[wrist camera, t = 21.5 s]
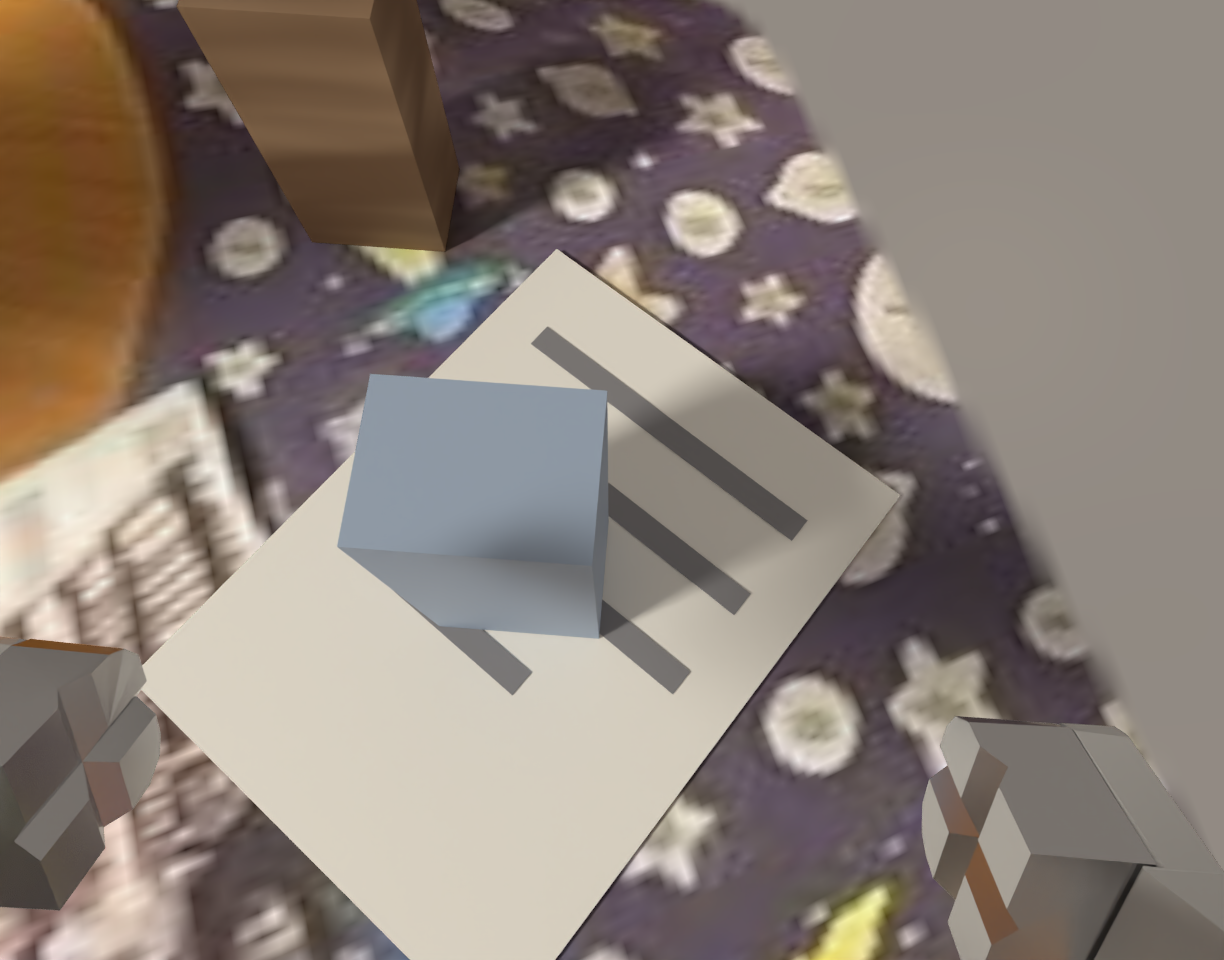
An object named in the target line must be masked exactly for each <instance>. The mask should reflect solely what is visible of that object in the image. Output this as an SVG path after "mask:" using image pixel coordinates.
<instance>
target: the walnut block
mask: <svg viewBox="0 0 1224 960" xmlns="http://www.w3.org/2000/svg"><path fill="white" fill-rule="evenodd" d="M177 8H178V10H179V12H180V13H181V15H182V17H183V18H184V20H185V22H186V24H187V25H188V27H189V29H190V31H191V32H192V34H193V36H194V38H195V39H196V41H197V43H198V45H199V46H200V48H201V50H202V52H203V53H204V55H205V57H206V58H207V60H208V62H209V64H210V65H211V67H212V69H213V71H214V72H215V74H216V76H217V78H218V79H219V81H220V83H221V85H222V86H223V88H224V90H225V92H226V93H227V95H228V97H229V98H230V100H231V102H232V104H233V105H234V107H235V109H236V111H237V112H238V114H239V116H240V118H241V119H242V121H243V123H244V125H245V126H246V128H247V130H248V131H249V133H250V135H251V137H252V138H253V140H254V142H255V144H256V145H257V147H258V149H259V151H260V152H261V154H262V156H263V158H264V159H265V161H266V163H267V165H268V166H269V168H270V170H271V171H272V173H273V175H274V177H275V178H276V180H277V182H278V184H279V185H280V187H281V189H282V191H283V192H284V194H285V196H286V198H287V199H288V201H289V203H290V205H291V206H292V208H293V210H294V211H295V213H296V215H297V217H298V218H299V220H300V222H301V224H302V225H303V227H304V229H305V231H306V232H307V234H308V236H309V238H310V239H311V241H312V242H316V243H330V244H344V245H358V246H373V247H387V248H401V249H415V250H429V251H443V252H445V249H446V244H447V238H448V232H449V226H450V221H451V215H452V209H453V203H454V198H455V192H456V186H457V180H458V175H459V166H458V162H457V158H456V154H455V150H454V146H453V142H452V138H451V134H450V130H449V126H448V122H447V118H446V115H445V111H444V107H443V103H442V99H441V95H440V91H439V87H438V83H437V79H436V75H435V71H434V67H433V64H432V60H431V56H430V52H429V48H428V44H427V40H426V36H425V32H424V28H423V24H422V20H421V16H420V12H419V9H418V5H417V1H416V0H179V1H178V4H177Z"/></svg>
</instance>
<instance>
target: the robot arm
mask: <svg viewBox="0 0 1224 960" xmlns="http://www.w3.org/2000/svg"><path fill="white" fill-rule="evenodd" d="M146 681H147V680H146V677H145V674H144V670H143V667H142V664H141V661H140V658H139V655H137V654H135V653H133V652H130V651H128V650H126V649H121V648H111V647H102V646H92V645H83V644H73V643H64V642H54V641H45V640H36V639H29V640H24V639H16V638H6V637H0V907H11V908H27V909H44V910H60V909H61V908H62V907H63V905H64V904H65V903H66V901H67V900H68V898H69V897H70V896H71V894H72V893H73V892H74V890H75V889H76V887H77V886H78V885H79V883H80V882H81V880H82V879H83V878H84V876H85V875H86V874H87V872H88V871H89V869H90V868H91V867H92V865H93V864H94V863H95V861H96V860H97V858H98V857H99V856H100V854H101V853H102V851H103V850H104V849H105V840H104V826H106V825H108V824H109V823H111V822H113V821H114V820H116V819H118V818H119V817H121V816H122V815H124V814H126V813H127V812H129V811H131V810H132V809H133V808H134V807H135V805H136V804H137V802H138V801H139V799H140V798H141V797H142V795H143V794H144V792H145V791H146V789H147V788H148V786H149V785H150V782H151V779H152V776H153V774H154V771H155V768H156V765H157V762H158V759H159V756H160V729H159V725H158V721H157V717H156V714H155V713H154V712H153V711H152V710H150V709H149V708H148V707H147V706H146V705H145V704H144V703H143V702H142V701H141V700H140V699H139V698H138V697H137V695H138V693H139V692H140V690H141V689H142V687H143V686H144V684H145V683H146ZM940 747H941V750H942V752H943V755H944V757H945V760H946V762H947V765H948V766H946V767H945V768H944V769H942V770H941V771H939V772H938V773H937V774H935V775H934V776H933V777H931V778H930V779H929V782H928V785H927V789H926V793H925V796H924V800H923V804H922V835H923V841H924V847H925V853H926V857H927V860H928V863H929V866H930V869H931V873H932V876H933V878H934V879H935V880H936V881H937V882H938V883H939V884H940V885H941V886H942V887H943V888H944V889H945V890H946V891H947V892H948V893H949V894H950V895H951V896H952V897H953V898H954V899H955V903H954V906H953V909H952V911H951V914H950V917H949V920H948V924H949V927H950V930H951V933H952V936H953V938H954V941H955V944H956V947H957V950H958V953H959V956H960V959H961V960H1224V871H1223V870H1222V868H1221V867H1220V865H1219V864H1218V862H1217V861H1216V860H1215V858H1214V857H1213V855H1212V854H1211V852H1210V851H1209V850H1208V848H1207V847H1206V845H1205V844H1204V843H1203V841H1202V840H1201V838H1200V837H1199V836H1198V834H1197V833H1196V831H1195V830H1194V828H1193V827H1192V826H1191V824H1190V823H1189V821H1188V820H1187V819H1186V817H1185V816H1184V814H1183V813H1182V811H1181V810H1180V809H1179V807H1178V806H1177V804H1176V803H1175V802H1174V800H1173V799H1172V797H1171V796H1170V794H1169V793H1168V792H1167V790H1166V789H1165V787H1164V786H1163V785H1162V783H1161V782H1160V780H1159V779H1158V777H1157V776H1156V775H1155V773H1154V772H1153V770H1152V769H1151V768H1150V766H1149V765H1148V763H1147V762H1146V760H1145V759H1144V758H1143V756H1142V755H1141V753H1140V752H1139V751H1138V749H1137V748H1136V746H1135V745H1134V743H1133V742H1132V741H1131V739H1130V738H1129V737H1128V736H1127V735H1126V734H1125V733H1123V732H1122V731H1120V730H1119V729H1117V728H1116V727H1114V726H1099V725H1083V724H1067V723H1060V724H1053V723H1041V722H1027V721H1014V720H1000V719H987V718H973V717H960V716H955V717H954V718H953V720H952V721H951V722H950V723H949V724H948V725H947V727H946V730H945V733H944V736H943V738H942V741H941V744H940Z"/></svg>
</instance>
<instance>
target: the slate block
mask: <svg viewBox="0 0 1224 960" xmlns="http://www.w3.org/2000/svg"><path fill="white" fill-rule="evenodd" d="M608 523H609V520H608V408H607V391H605V390H590V389H576V388H562V387H548V386H534V385H520V384H506V383H492V382H477V381H463V380H449V379H435V378H421V377H407V376H393V375H379V374H370V378H369V384H368V389H367V394H366V399H365V404H364V409H363V415H362V420H361V425H360V430H359V435H358V441H357V446H356V451H355V456H354V461H353V466H352V472H351V477H350V482H349V487H348V492H347V497H346V503H345V508H344V513H343V518H342V523H341V528H340V534H339V539H338V544H337V547H338V548H339V549H341V550H342V551H343V552H344V553H346V554H347V555H348V556H350V557H351V558H352V559H353V560H355V561H356V562H357V563H359V564H360V565H361V566H362V567H364V568H365V569H366V570H368V571H369V572H370V573H371V574H373V575H374V576H375V577H377V578H378V579H379V580H380V581H382V582H383V583H384V584H386V585H387V586H388V587H389V588H391V589H392V590H393V591H395V592H396V593H397V594H399V595H400V596H401V597H402V598H404V599H405V600H406V601H408V602H409V603H410V604H411V605H413V606H414V607H415V608H417V609H418V610H419V611H420V612H422V613H423V614H424V615H426V616H427V617H428V618H429V619H431V620H432V621H433V622H435V623H436V624H437V625H438V626H443V627H455V628H468V629H481V630H494V631H507V632H519V633H532V634H545V635H558V636H571V637H583V638H596V639H599V634H600V621H601V609H602V597H603V585H604V572H605V560H606V548H607V535H608Z"/></svg>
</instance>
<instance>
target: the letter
mask: <svg viewBox="0 0 1224 960" xmlns="http://www.w3.org/2000/svg"><path fill="white" fill-rule="evenodd" d="M429 378H435V379H449V380H463V381H477V382H492V383H506V384H520V385H534V386H548V387H562V388H576V389H590V390H605V391H607V408H608V520H609V523H608V535H607V548H606V560H605V572H604V585H603V597H602V609H601V621H600V634H599V639H596V638H583V637H571V636H558V635H545V634H532V633H519V632H507V631H494V630H481V629H468V628H455V627H443V626H438V625H437V624H436V623H435V622H433V621H432V620H431V619H429V618H428V617H427V616H426V615H424V614H423V613H422V612H420V611H419V610H418V609H417V608H415V607H414V606H413V605H411V604H410V603H409V602H408V601H406V600H405V599H404V598H402V597H401V596H400V595H399V594H397V593H396V592H395V591H393V590H392V589H391V588H389V587H388V586H387V585H386V584H384V583H383V582H382V581H380V580H379V579H378V578H377V577H375V576H374V575H373V574H371V573H370V572H369V571H368V570H366V569H365V568H364V567H362V566H361V565H360V564H359V563H357V562H356V561H355V560H353V559H352V558H351V557H350V556H348V555H347V554H346V553H344V552H343V551H342V550H341V549H339V548H338V547H337V544H338V539H339V534H340V528H341V523H342V518H343V513H344V508H345V503H346V497H347V492H348V487H349V482H350V477H351V472H352V466H353V461H354V456H355V452H354V453H353V454H352V455H351V456H350V457H349V458H348V459H347V460H346V461H345V462H344V463H343V464H342V465H341V466H340V467H339V468H338V469H337V470H336V471H335V472H334V473H333V474H332V475H331V476H330V477H329V478H328V479H327V480H326V481H325V482H324V483H323V484H322V485H321V486H320V487H319V488H318V489H317V490H316V491H315V493H314V494H313V495H312V496H311V497H310V498H309V499H308V500H307V501H306V502H305V503H304V504H303V505H302V506H301V507H300V508H299V509H298V510H297V511H296V512H295V513H294V514H293V515H292V516H291V517H290V518H289V519H288V520H287V521H286V522H285V523H284V524H283V525H282V526H281V527H280V528H279V529H278V530H277V531H276V532H275V533H274V534H273V535H272V536H271V537H270V538H269V539H268V540H267V541H266V542H265V543H264V544H263V545H262V546H261V547H260V548H259V549H258V550H257V551H256V552H255V553H254V554H253V555H252V556H251V557H250V558H249V559H248V560H247V561H246V562H245V563H244V564H243V565H242V566H241V567H240V568H239V569H238V570H237V571H236V572H235V573H234V574H233V575H232V576H231V577H230V578H229V579H228V580H227V581H226V582H225V583H224V584H223V585H222V586H221V587H220V588H219V589H218V590H217V591H216V592H215V593H214V594H213V595H212V596H211V597H210V598H209V599H208V600H207V601H206V602H205V603H204V604H203V605H202V606H201V607H200V608H199V609H198V610H197V611H196V612H195V613H194V614H193V615H192V616H191V617H190V618H189V619H188V620H187V621H186V622H185V623H184V624H183V625H182V626H181V627H180V628H179V629H178V630H177V631H176V632H175V633H174V634H173V635H172V636H171V637H170V638H169V639H168V640H167V641H166V642H165V643H164V644H163V645H162V646H161V647H160V648H159V649H158V650H157V651H156V652H155V653H154V654H153V655H152V656H151V657H150V658H149V659H148V660H147V661H146V662H145V664H144V665H143V666H142V667H143V670H144V674H145V677H146V680H147V681H146V683H145V684H144V686H143V687H142V689H141V690H142V691H143V692H144V693H145V694H146V695H147V696H148V697H149V698H150V699H151V700H152V701H153V702H154V703H155V704H156V705H157V706H158V707H159V708H160V709H161V710H162V711H163V712H164V713H165V714H166V715H167V716H168V717H169V718H170V719H171V720H172V721H173V722H174V723H175V724H176V725H177V726H178V727H179V728H180V729H181V730H182V731H183V732H184V733H185V734H186V735H187V736H188V737H189V738H190V739H191V740H192V741H193V742H194V743H195V744H196V745H197V746H198V747H199V748H200V749H201V750H202V751H203V752H204V753H205V754H206V755H207V756H208V757H209V758H210V759H211V760H212V761H213V762H214V763H215V764H216V765H217V766H218V767H219V768H220V769H221V770H222V771H223V772H224V773H225V774H226V775H227V776H228V777H229V778H230V779H231V780H232V781H233V782H234V783H235V784H236V785H237V786H238V787H239V788H240V789H241V790H242V791H243V792H244V793H245V794H246V795H247V796H248V797H249V798H250V799H251V800H252V801H253V802H254V803H255V804H256V805H257V806H258V807H259V808H260V809H261V810H262V811H263V812H264V813H265V814H266V815H267V816H268V817H269V818H270V819H271V820H272V821H273V822H274V823H275V824H276V825H277V826H278V827H279V828H280V829H281V830H282V831H283V832H284V833H285V834H286V835H287V836H288V837H289V838H290V839H291V840H292V841H293V842H294V843H295V844H296V845H297V846H298V847H299V848H300V849H301V850H302V851H303V853H304V854H305V855H306V856H307V857H308V858H309V859H310V860H311V861H312V862H313V863H314V864H315V865H316V866H317V867H318V868H319V869H320V870H321V871H322V872H323V873H324V874H325V875H326V876H327V877H328V878H329V879H330V880H331V881H332V882H333V883H334V884H335V885H336V886H337V887H338V888H339V889H340V890H341V891H342V892H343V893H344V894H345V895H346V896H347V897H348V898H349V899H350V900H351V901H352V902H353V903H354V904H355V905H356V906H357V907H358V908H359V909H360V910H361V911H362V912H363V913H364V914H365V915H366V916H367V917H368V918H369V919H370V920H371V921H372V922H373V923H374V924H375V925H376V926H377V927H378V928H379V929H380V930H381V931H382V932H383V933H384V934H385V935H386V936H387V937H388V938H389V939H390V940H391V941H392V942H393V943H394V944H395V945H396V946H397V947H398V948H399V949H400V950H401V951H402V952H403V953H404V954H405V955H406V956H407V957H408V958H409V959H410V960H555V959H556V958H557V957H558V955H559V954H560V953H561V951H562V950H563V949H564V947H565V946H566V945H567V943H568V942H569V941H570V939H571V938H572V937H573V935H574V934H575V933H576V931H577V930H578V929H579V927H580V926H581V924H582V923H583V922H584V920H585V919H586V918H587V916H588V915H589V914H590V912H591V911H592V910H593V908H594V907H595V906H596V904H597V903H598V902H599V900H600V899H601V898H602V896H603V895H604V894H605V892H606V891H607V890H608V888H609V887H610V885H611V884H612V883H613V881H614V880H615V879H616V877H617V876H618V875H619V873H620V872H621V871H622V869H623V868H624V867H625V865H626V864H627V863H628V861H629V860H630V859H631V857H632V856H633V855H634V853H635V852H636V851H637V849H638V848H639V846H640V845H641V844H642V842H643V841H644V840H645V838H646V837H647V836H648V834H649V833H650V832H651V830H652V829H653V828H654V826H655V825H656V824H657V822H658V821H659V820H660V818H661V817H662V816H663V814H664V813H665V812H666V810H667V809H668V807H669V806H670V805H671V803H672V802H673V801H674V799H675V798H676V797H677V795H678V794H679V793H680V791H681V790H682V789H683V787H684V786H685V785H686V783H687V782H688V781H689V779H690V778H691V777H692V775H693V774H694V773H695V771H696V770H697V768H698V767H699V766H700V764H701V763H702V762H703V760H704V759H705V758H706V756H707V755H708V754H709V752H710V751H711V750H712V748H713V747H714V746H715V744H716V743H717V742H718V740H719V739H720V738H721V736H722V735H723V734H724V732H725V731H726V729H727V728H728V727H729V725H730V724H731V723H732V721H733V720H734V719H735V717H736V716H737V715H738V713H739V712H740V711H741V709H742V708H743V707H744V705H745V704H746V703H747V701H748V700H749V699H750V697H751V696H752V695H753V693H754V692H755V690H756V689H757V688H758V686H759V685H760V684H761V682H762V681H763V680H764V678H765V677H766V676H767V674H768V673H769V672H770V670H771V669H772V668H773V666H774V665H775V664H776V662H777V661H778V660H779V658H780V657H781V656H782V654H783V653H784V651H785V650H786V649H787V647H788V646H789V645H790V643H791V642H792V641H793V639H794V638H795V637H796V635H797V634H798V633H799V631H800V630H801V629H802V627H803V626H804V625H805V623H806V622H807V621H808V619H809V618H810V617H811V615H812V614H813V612H814V611H815V610H816V608H817V607H818V606H819V604H820V603H821V602H822V600H823V599H824V598H825V596H826V595H827V594H828V592H829V591H830V590H831V588H832V587H833V586H834V584H835V583H836V582H837V580H838V579H839V578H840V576H841V575H842V573H843V572H844V571H845V569H846V568H847V567H848V565H849V564H850V563H851V561H852V560H853V559H854V557H855V556H856V555H857V553H858V552H859V551H860V549H861V548H862V547H863V545H864V544H865V543H866V541H867V540H868V539H869V537H870V536H871V534H872V533H873V532H874V530H875V529H876V528H877V526H878V525H879V524H880V522H881V521H882V520H883V518H884V517H885V516H886V514H887V513H888V512H889V510H890V509H891V508H892V506H893V505H894V504H895V502H896V501H897V500H898V498H899V497H900V494H898V493H897V492H895V491H894V490H893V489H891V488H890V487H888V486H887V485H886V484H884V483H883V482H881V481H880V480H879V479H877V478H876V477H874V476H873V475H872V474H870V473H869V472H867V471H866V470H865V469H863V468H862V467H860V466H859V465H858V464H856V463H855V462H853V461H852V460H851V459H849V458H848V457H847V456H845V455H844V454H842V453H841V452H840V451H838V450H837V449H835V448H834V447H833V446H831V445H830V444H828V443H827V442H826V441H824V440H823V439H821V438H820V437H819V436H817V435H816V434H814V433H813V432H812V431H810V430H809V429H807V428H806V427H805V426H803V425H802V424H800V423H799V422H798V421H796V420H795V419H793V418H792V417H791V416H789V415H788V414H786V413H785V412H784V411H782V410H781V409H779V408H778V407H777V406H775V405H774V404H773V403H771V402H770V401H768V400H767V399H766V398H764V397H763V396H761V395H760V394H759V393H757V392H756V391H754V390H753V389H752V388H750V387H749V386H747V385H746V384H745V383H743V382H742V381H740V380H739V379H738V378H736V377H735V376H733V375H732V374H731V373H729V372H728V371H726V370H725V369H724V368H722V367H721V366H719V365H718V364H717V363H715V362H714V361H712V360H711V359H710V358H708V357H707V356H705V355H704V354H703V353H701V352H700V351H699V350H697V349H696V348H694V347H693V346H692V345H690V344H689V343H687V342H686V341H685V340H683V339H682V338H680V337H679V336H678V335H676V334H675V333H673V332H672V331H671V330H669V329H668V328H666V327H665V326H664V325H662V324H661V323H659V322H658V321H657V320H655V319H654V318H652V317H651V316H650V315H648V314H647V313H645V312H644V311H643V310H641V309H640V308H638V307H637V306H636V305H634V304H633V303H631V302H630V301H629V300H627V299H626V298H625V297H623V296H622V295H620V294H619V293H618V292H616V291H615V290H613V289H612V288H611V287H609V286H608V285H606V284H605V283H604V282H602V281H601V280H599V279H598V278H597V277H595V276H594V275H592V274H591V273H590V272H588V271H587V270H585V269H584V268H583V267H581V266H580V265H578V264H577V263H576V262H574V261H573V260H571V259H570V258H569V257H567V256H566V255H564V254H563V253H562V252H560V251H559V250H557V249H556V250H555V251H554V252H553V253H552V254H551V255H550V256H549V257H548V258H547V259H546V260H545V261H544V262H543V263H542V264H541V265H540V266H539V267H538V268H537V269H536V270H535V271H534V272H533V273H532V274H531V275H530V276H529V277H528V278H527V279H526V280H525V281H524V282H523V283H522V284H521V285H520V286H519V287H518V288H517V289H516V290H515V291H514V292H513V293H512V294H511V295H510V296H509V297H508V298H507V299H506V300H505V301H504V302H503V303H502V304H501V305H500V306H499V307H498V308H497V309H496V310H495V311H494V312H493V313H492V314H491V315H490V316H489V317H488V318H487V319H486V321H485V322H484V323H483V324H482V325H481V326H480V327H479V328H478V329H477V330H476V331H475V332H474V333H473V334H472V335H471V336H470V337H469V338H468V339H467V340H466V341H465V342H464V343H463V344H462V345H461V346H460V347H459V348H458V349H457V350H456V351H455V352H454V353H453V354H452V355H451V356H450V357H449V358H448V359H447V360H446V361H445V362H444V363H443V364H442V365H441V366H440V367H439V368H438V369H437V370H436V371H435V372H434V373H433V374H432V375H431V376H430V377H429Z"/></svg>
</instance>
